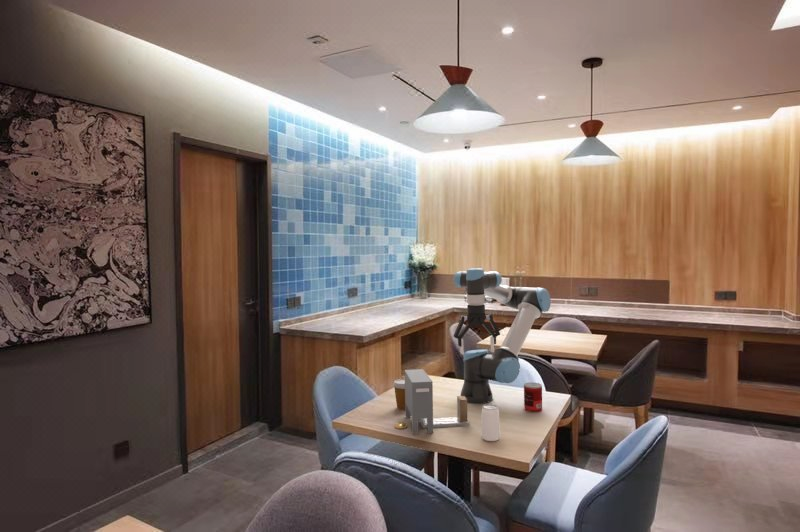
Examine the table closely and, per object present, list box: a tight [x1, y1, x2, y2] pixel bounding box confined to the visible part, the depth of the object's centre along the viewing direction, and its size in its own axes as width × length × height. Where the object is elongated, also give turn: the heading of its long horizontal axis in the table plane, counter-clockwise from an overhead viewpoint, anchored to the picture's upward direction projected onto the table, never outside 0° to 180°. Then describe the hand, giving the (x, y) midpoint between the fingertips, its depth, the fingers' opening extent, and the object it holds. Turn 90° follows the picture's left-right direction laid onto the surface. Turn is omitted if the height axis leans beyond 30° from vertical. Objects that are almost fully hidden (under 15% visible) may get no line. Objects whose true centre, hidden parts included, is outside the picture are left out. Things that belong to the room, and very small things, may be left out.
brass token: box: [394, 421, 408, 430], centre depth 194 cm, size 5×5×1 cm
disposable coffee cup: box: [392, 378, 405, 411], centre depth 218 cm, size 10×10×12 cm
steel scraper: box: [419, 395, 470, 429], centre depth 196 cm, size 19×7×10 cm, turn 97°
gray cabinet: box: [404, 368, 434, 435], centre depth 196 cm, size 8×22×20 cm, turn 7°
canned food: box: [523, 381, 543, 413], centre depth 213 cm, size 8×8×11 cm
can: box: [481, 403, 500, 442], centre depth 180 cm, size 6×6×12 cm
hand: (477, 352), depth 209 cm, fingers open, 13 cm apart
